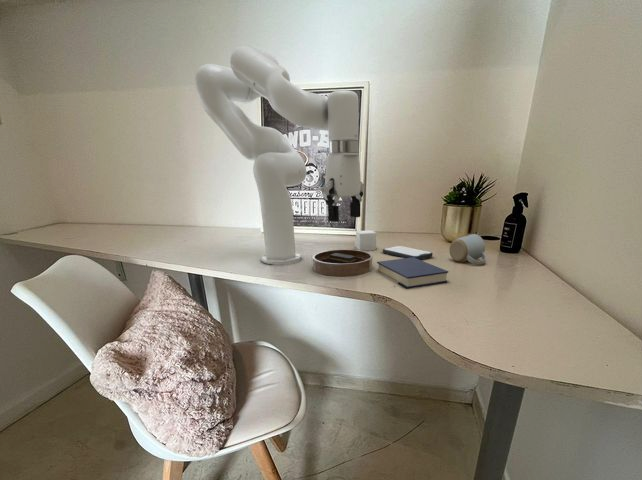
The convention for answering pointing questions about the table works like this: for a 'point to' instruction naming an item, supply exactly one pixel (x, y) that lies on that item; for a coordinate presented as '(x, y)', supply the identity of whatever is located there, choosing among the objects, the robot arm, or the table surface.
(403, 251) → the phone case
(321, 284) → the table surface
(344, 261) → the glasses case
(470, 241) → the ceramic mug
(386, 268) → the book
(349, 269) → the bowl
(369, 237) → the white cube
